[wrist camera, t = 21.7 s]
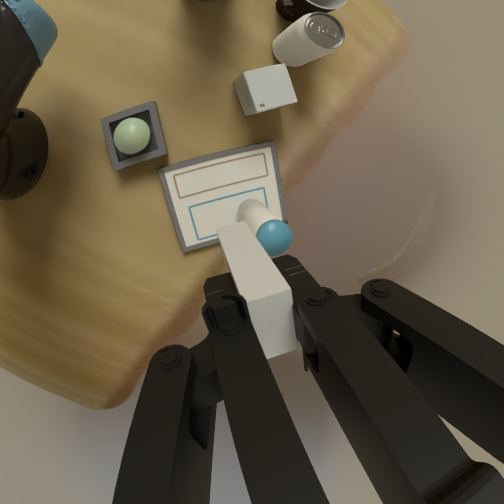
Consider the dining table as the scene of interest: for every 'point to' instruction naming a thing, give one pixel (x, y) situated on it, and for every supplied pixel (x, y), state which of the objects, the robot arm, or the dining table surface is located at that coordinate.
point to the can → (308, 39)
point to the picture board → (220, 190)
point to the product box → (264, 89)
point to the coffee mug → (306, 7)
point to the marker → (265, 226)
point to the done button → (132, 135)
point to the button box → (152, 150)
